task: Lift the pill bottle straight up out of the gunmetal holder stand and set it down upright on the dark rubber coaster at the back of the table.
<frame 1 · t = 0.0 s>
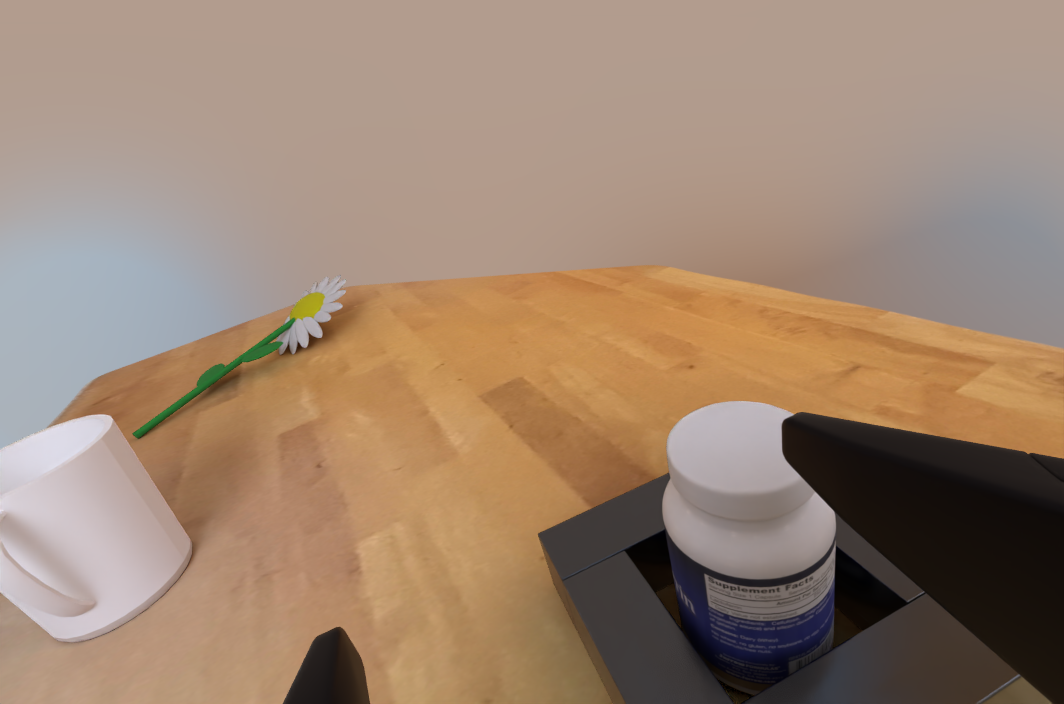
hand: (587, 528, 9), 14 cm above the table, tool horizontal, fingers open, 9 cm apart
mug: (124, 598, 32), on the table
decorative flower: (262, 368, 64), on the table
pill bottle: (753, 633, 21), resting in stand
stand: (753, 630, 21), on the table
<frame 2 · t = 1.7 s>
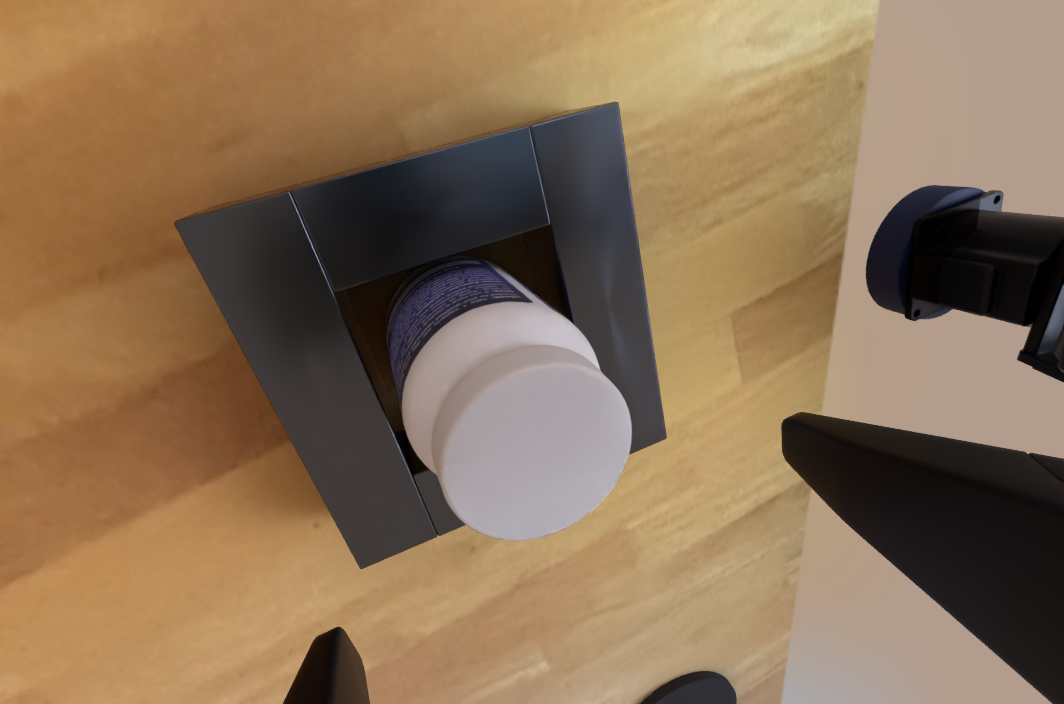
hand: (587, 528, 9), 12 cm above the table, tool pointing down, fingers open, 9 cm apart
pill bottle: (457, 323, 20), resting in stand
stand: (458, 325, 20), on the table
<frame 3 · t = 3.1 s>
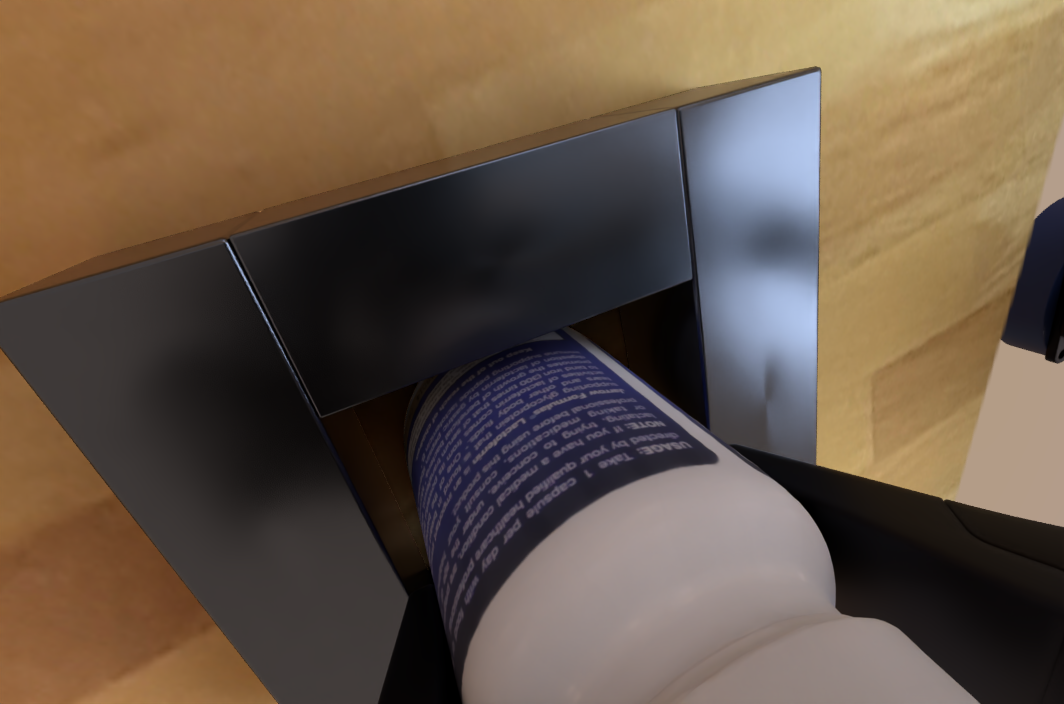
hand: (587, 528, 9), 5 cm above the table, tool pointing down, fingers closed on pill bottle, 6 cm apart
pill bottle: (509, 413, 14), resting in stand, touching gripper
stand: (512, 416, 13), on the table
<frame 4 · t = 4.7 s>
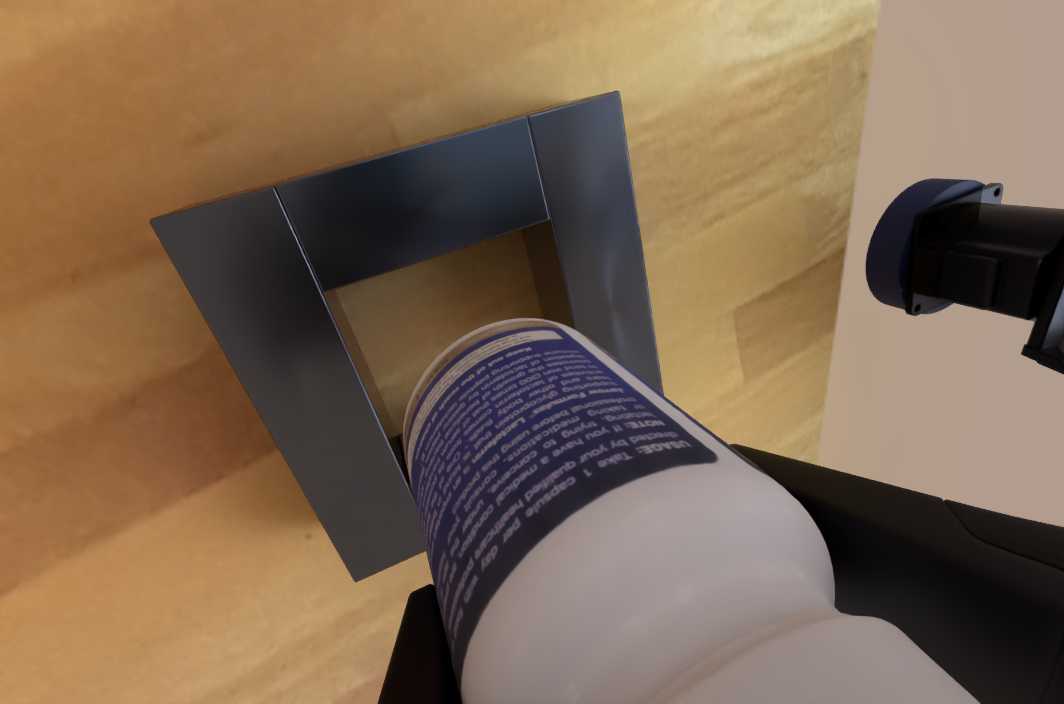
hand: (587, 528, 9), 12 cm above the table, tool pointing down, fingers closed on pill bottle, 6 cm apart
pill bottle: (509, 413, 14), point 7 cm above the table, touching gripper
stand: (454, 326, 19), on the table
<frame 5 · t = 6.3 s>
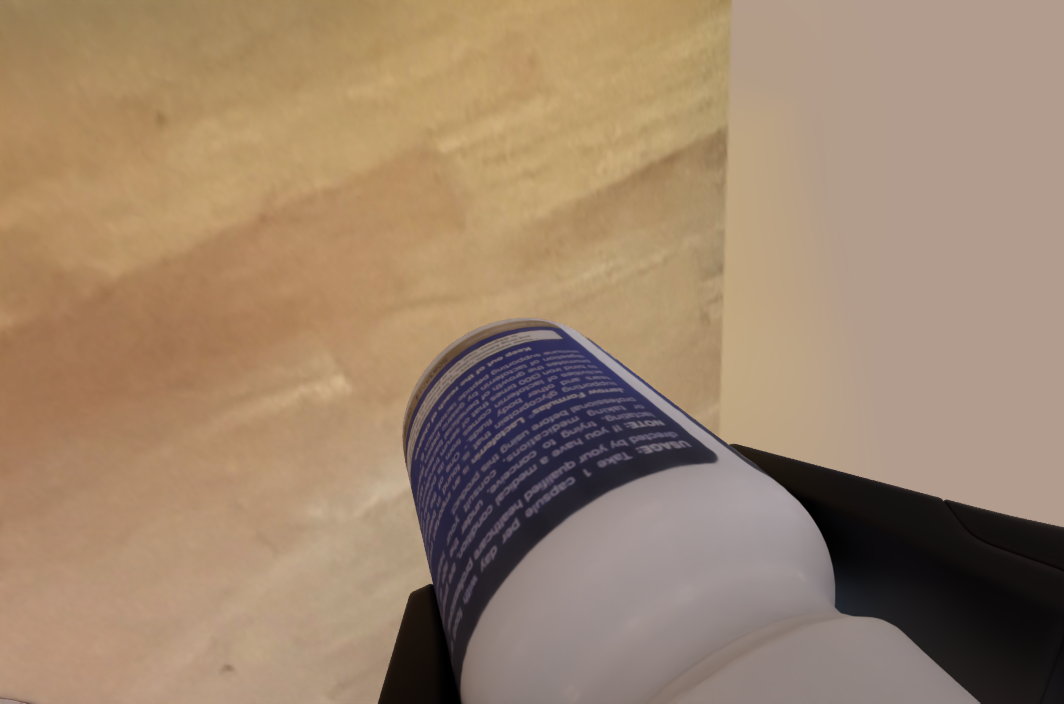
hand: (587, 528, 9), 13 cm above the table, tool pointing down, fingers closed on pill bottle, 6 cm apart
pill bottle: (509, 413, 13), point 8 cm above the table, touching gripper
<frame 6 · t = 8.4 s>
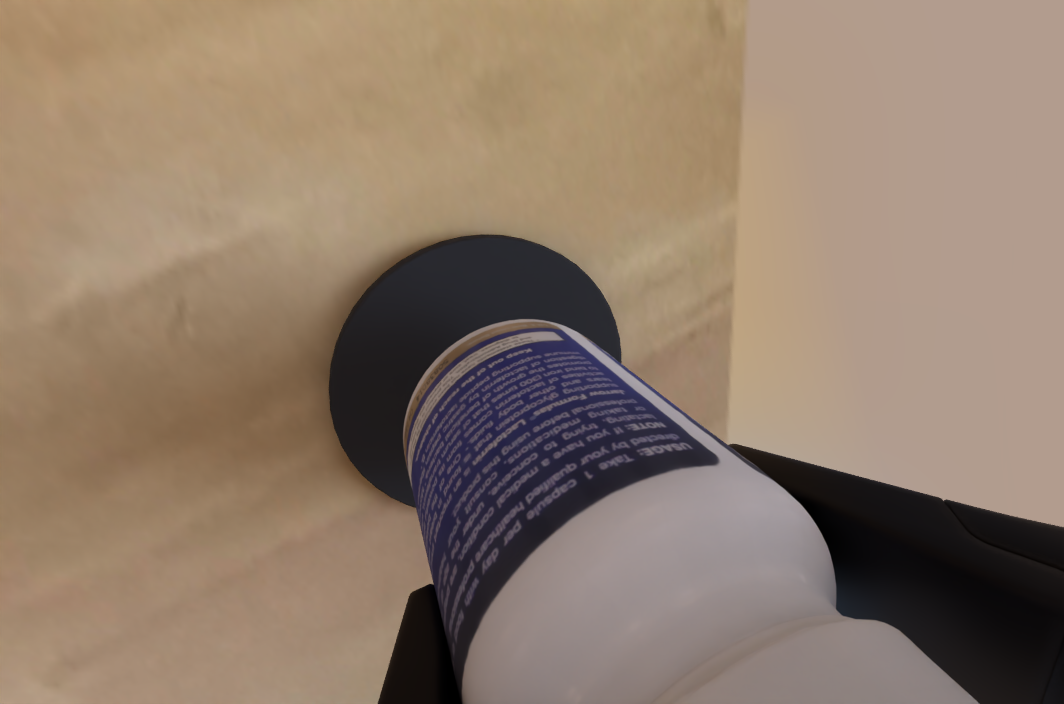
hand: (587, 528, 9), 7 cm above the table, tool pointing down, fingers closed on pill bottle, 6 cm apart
pill bottle: (509, 414, 13), point 3 cm above the table, touching gripper
coaster: (484, 381, 16), on the table
when the fingers open (5 cm above the table, at t = 9.5 s): pill bottle stays where it is, resting on coaster.
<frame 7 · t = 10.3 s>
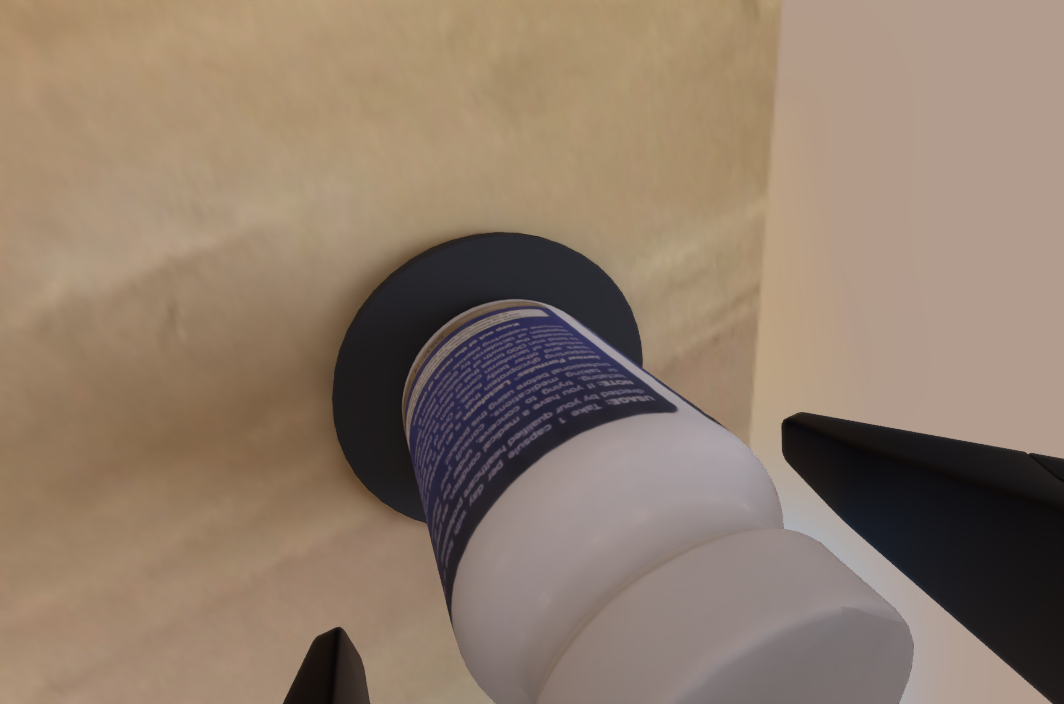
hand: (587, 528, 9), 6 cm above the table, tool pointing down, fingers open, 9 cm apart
pill bottle: (501, 390, 14), resting on coaster
coaster: (497, 388, 15), on the table
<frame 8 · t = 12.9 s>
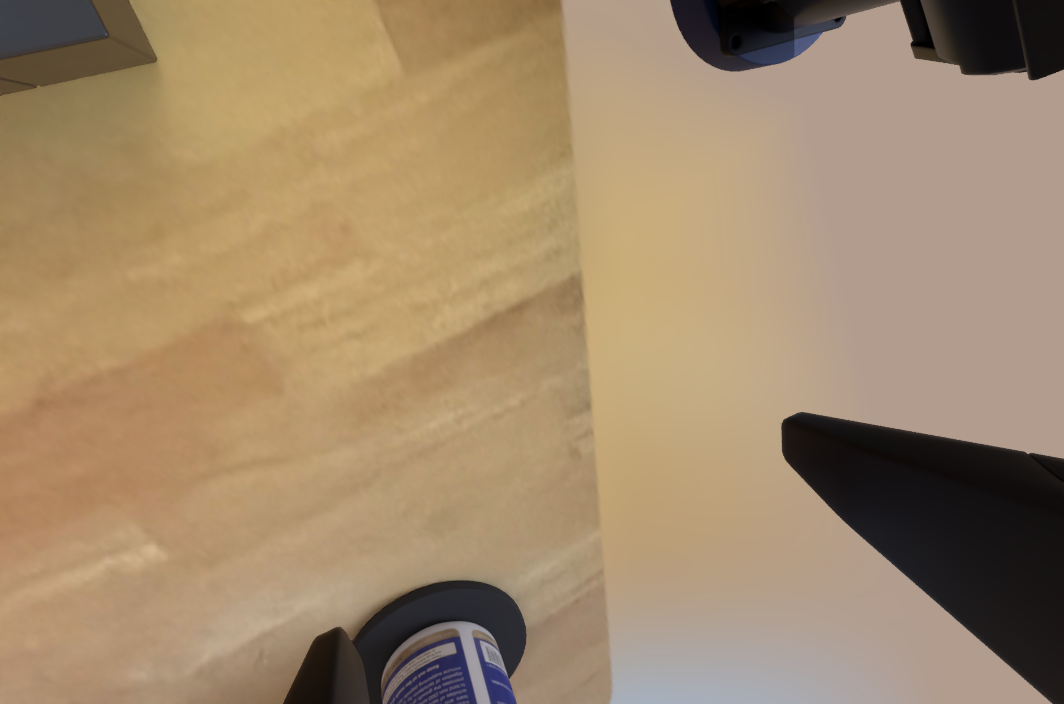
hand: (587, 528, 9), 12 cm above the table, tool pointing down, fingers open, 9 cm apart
pill bottle: (439, 657, 25), resting on coaster
coaster: (438, 652, 26), on the table
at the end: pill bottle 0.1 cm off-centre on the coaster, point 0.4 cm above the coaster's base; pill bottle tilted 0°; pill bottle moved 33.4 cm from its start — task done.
